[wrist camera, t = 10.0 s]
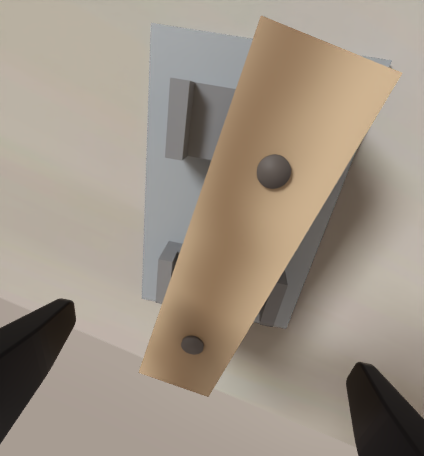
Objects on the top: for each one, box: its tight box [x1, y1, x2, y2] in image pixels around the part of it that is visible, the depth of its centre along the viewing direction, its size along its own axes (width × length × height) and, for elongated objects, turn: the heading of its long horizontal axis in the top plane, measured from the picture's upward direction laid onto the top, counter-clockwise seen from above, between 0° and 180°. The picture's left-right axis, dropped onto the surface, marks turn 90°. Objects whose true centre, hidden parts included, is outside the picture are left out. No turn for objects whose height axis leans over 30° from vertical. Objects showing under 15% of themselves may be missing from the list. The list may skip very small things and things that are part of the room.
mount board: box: [142, 23, 392, 329], centre depth 18 cm, size 13×20×3 cm, turn 171°
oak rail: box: [139, 16, 402, 397], centre depth 14 cm, size 4×18×5 cm, turn 161°
